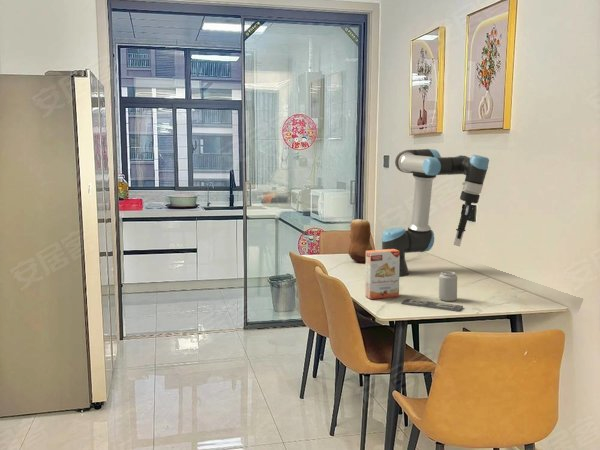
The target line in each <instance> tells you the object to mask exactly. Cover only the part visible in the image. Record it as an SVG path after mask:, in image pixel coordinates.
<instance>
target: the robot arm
mask: <svg viewBox="0 0 600 450" xmlns="http://www.w3.org/2000/svg"><path fill="white" fill-rule="evenodd" d="M395 157H396V158H395V160H394V164H395V167H396V169H397V170H398V171H399V172H402V173H406V174H412V177H413V178H414V179H415V180H414V188H413V189H414V190H413V191H414V192H413V201H412V203H413V204H412V210H411V211H412V213H411V221H410V222H411V223H410V224H409V225H407V230H406V229H405V228H403V227H393V228H388V229H386V230H383V232H382V235H381V247H382V248H381V250H385V249H396V250H398V251H400V265H399V277H403V276H408V274H409V268H408V267H409V266H408V265H407V262H406V254H409V253H424V252H428V251H430V250H431V249H432V248H433V246H434V245H435V244H434V243H435V236H434V235H435V234H434V231H433V230H432V227H431V226H430V225H429V218H430V212H431V211H430V209H431V200H432V191H433V188H432V187H433V180H435V179H436V178H437V176H447V175H465V179H464V182H462V185H463V186H462V190H461V193H460V197H459V199H460V200H461V201H463V202H464V203H463V204H462V205H461V212H460V218H459V221H458V225H457V228H455V231H456V233H455V237H454V241H453V246H456V247H461V244H462V239H463V237H464V232H466V226H467V223H468V219H469V218H470V214H471V212H472V210H473V206H472V204H478V203H479V201H480V200H479V199H480V196H481V195H480V194H481V193H482V189H483V186H484V181H485V179H486V176H487V171H488V168H489V164H490V163H489V162H490V159H489V158H488V157H486V156H482V155H477V154H472V155H471V156H470V157H469V156H467V155H462V154H461V155H456V156H445V157H443V156H441V154H440V152H439V151H438V150H436V149H430V148H425V149H406V150H403V151H401V152H399V153H398V154H397V155H396V156H395Z"/></svg>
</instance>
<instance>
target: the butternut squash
mask: <svg viewBox="0 0 600 450" xmlns="http://www.w3.org/2000/svg"><path fill="white" fill-rule="evenodd" d="M349 227H350V234H349V238H350V243H349V245H348V256H349V257H350V259H351V260H353V261H354V262H358V263H359V264H361V263H362V264H366V251H370V250H374V249H373V246H372V244H371V223H370V221H369V220H366V219H362V218H361V219H360V218H357V219H356V218H355V219H353V220H352V221H351V222H350V226H349Z"/></svg>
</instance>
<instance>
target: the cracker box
mask: <svg viewBox="0 0 600 450" xmlns="http://www.w3.org/2000/svg"><path fill="white" fill-rule="evenodd" d="M399 265H400V251H398V250H396V249H385V250H382V249H373V250H370V251H366V262H365V297H366V298H368V299H369V300H376V299H377V300H378V299H387V298H389V299H391V298H398V297H399V296H400V276H399Z"/></svg>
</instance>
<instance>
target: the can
mask: <svg viewBox="0 0 600 450" xmlns="http://www.w3.org/2000/svg"><path fill="white" fill-rule="evenodd" d="M438 299H440V300H441V301H442V302H446V303H447V302H448V303H449V302H450V303H451V302H455V301H456V300H457V299H458V276H457V274H456V272H454V271H449V270H448V271H441V272H440V275H439V276H438Z"/></svg>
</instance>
